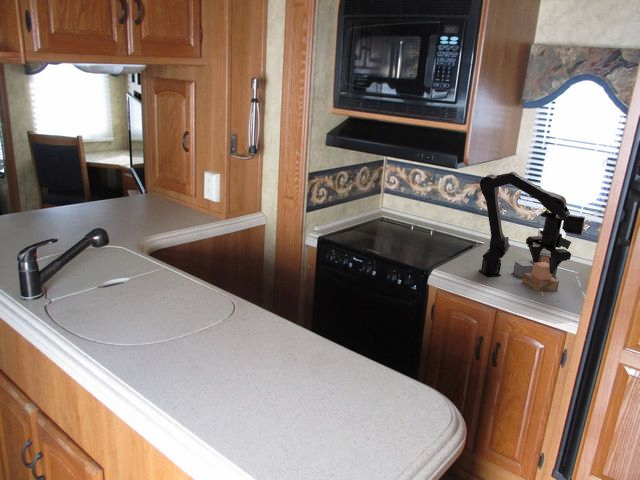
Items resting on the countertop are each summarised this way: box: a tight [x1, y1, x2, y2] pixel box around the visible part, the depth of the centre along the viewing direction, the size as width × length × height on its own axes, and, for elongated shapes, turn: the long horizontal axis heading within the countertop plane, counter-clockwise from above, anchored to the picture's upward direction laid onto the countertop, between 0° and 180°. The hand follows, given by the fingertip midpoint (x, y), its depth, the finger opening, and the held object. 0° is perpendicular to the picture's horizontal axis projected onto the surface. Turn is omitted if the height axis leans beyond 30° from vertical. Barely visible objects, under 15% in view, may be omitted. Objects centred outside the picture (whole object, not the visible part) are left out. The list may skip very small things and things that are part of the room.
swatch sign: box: [538, 254, 559, 279], centre depth 221 cm, size 8×5×8 cm, turn 66°
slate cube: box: [512, 260, 534, 279], centre depth 219 cm, size 5×5×5 cm
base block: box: [522, 273, 560, 292], centre depth 209 cm, size 9×9×4 cm
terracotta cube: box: [532, 262, 552, 280], centre depth 208 cm, size 5×5×5 cm
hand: (543, 269), depth 208 cm, fingers open, 9 cm apart
